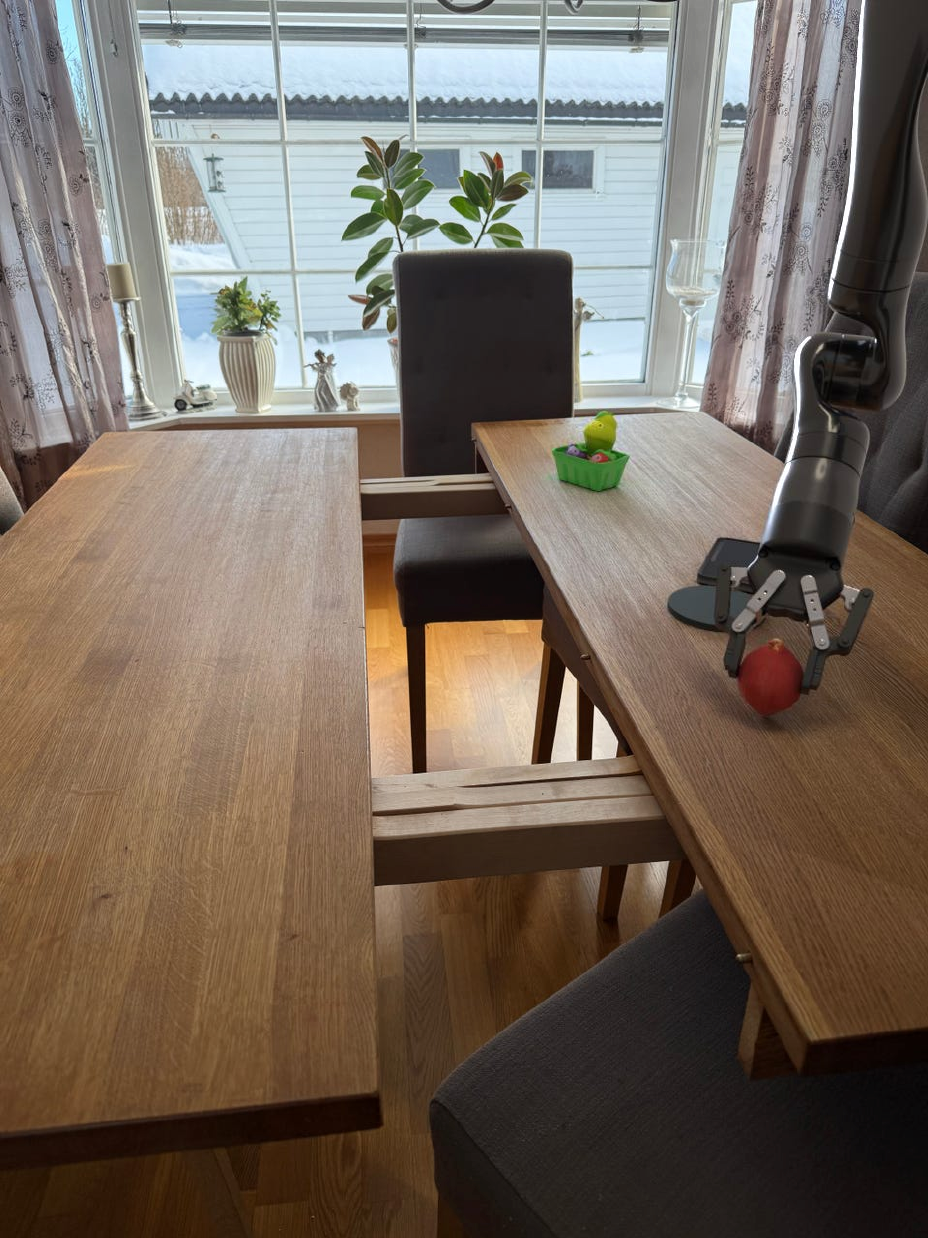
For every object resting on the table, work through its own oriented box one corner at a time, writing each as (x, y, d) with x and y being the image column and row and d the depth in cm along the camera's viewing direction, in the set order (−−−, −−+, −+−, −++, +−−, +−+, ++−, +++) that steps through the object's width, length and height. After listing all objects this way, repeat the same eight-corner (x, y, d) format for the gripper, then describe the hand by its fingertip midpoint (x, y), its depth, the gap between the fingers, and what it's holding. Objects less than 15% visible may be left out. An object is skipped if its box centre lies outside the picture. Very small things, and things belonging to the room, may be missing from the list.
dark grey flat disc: (763, 597, 106) (764, 591, 106) (767, 637, 96) (768, 631, 96) (669, 587, 108) (670, 581, 108) (664, 625, 99) (665, 618, 98)
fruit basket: (547, 478, 148) (550, 411, 143) (583, 469, 153) (587, 403, 149) (598, 495, 141) (604, 424, 136) (634, 484, 146) (641, 416, 141)
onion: (740, 692, 86) (753, 618, 82) (802, 708, 83) (817, 632, 80) (724, 720, 81) (737, 643, 78) (789, 738, 79) (805, 659, 75)
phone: (777, 545, 118) (760, 585, 106) (776, 553, 119) (759, 594, 106) (717, 535, 121) (694, 573, 109) (716, 543, 122) (693, 582, 109)
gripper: (731, 487, 83) (684, 652, 78) (898, 511, 77) (857, 691, 73) (734, 523, 89) (691, 678, 85) (888, 548, 84) (850, 715, 79)
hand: (768, 683), depth 79 cm, fingers closed on onion, 5 cm apart
